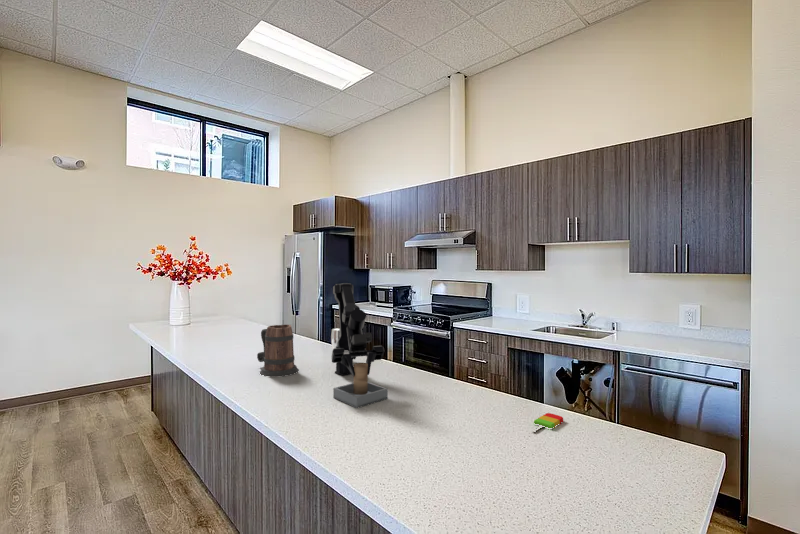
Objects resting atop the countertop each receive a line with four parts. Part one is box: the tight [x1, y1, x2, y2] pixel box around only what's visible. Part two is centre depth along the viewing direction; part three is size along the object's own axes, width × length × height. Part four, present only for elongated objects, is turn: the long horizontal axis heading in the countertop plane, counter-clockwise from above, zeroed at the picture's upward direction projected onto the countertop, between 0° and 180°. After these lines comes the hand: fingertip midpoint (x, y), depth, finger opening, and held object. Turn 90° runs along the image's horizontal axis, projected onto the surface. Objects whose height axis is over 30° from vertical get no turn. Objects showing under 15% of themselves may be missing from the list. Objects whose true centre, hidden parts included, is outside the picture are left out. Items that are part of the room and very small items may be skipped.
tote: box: [332, 381, 389, 409], centre depth 142 cm, size 14×14×4 cm
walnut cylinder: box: [352, 362, 369, 395], centre depth 142 cm, size 5×5×10 cm
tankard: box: [256, 324, 300, 377], centre depth 178 cm, size 24×17×20 cm
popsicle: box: [533, 412, 564, 428], centre depth 119 cm, size 6×15×2 cm, turn 135°
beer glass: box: [330, 327, 340, 350], centre depth 198 cm, size 7×7×15 cm
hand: (361, 374), depth 140 cm, fingers closed on walnut cylinder, 5 cm apart
